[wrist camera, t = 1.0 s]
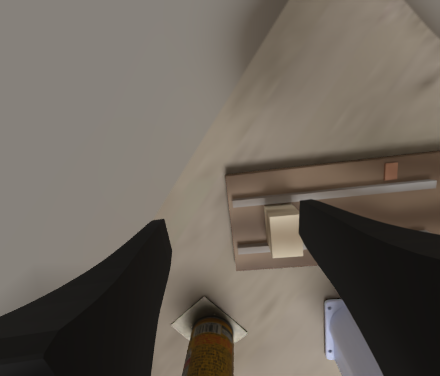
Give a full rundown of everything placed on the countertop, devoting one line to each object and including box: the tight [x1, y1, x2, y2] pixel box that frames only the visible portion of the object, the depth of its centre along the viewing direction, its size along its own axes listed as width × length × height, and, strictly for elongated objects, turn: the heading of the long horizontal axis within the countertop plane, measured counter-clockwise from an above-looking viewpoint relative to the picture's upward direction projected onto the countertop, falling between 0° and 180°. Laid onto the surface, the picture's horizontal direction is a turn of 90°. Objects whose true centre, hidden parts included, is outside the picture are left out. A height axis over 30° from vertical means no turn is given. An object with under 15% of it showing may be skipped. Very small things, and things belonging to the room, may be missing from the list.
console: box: [225, 151, 440, 271], centre depth 24 cm, size 12×24×2 cm, turn 97°
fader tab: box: [264, 203, 303, 258], centre depth 22 cm, size 4×3×4 cm
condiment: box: [171, 297, 248, 376], centre depth 24 cm, size 7×8×12 cm
